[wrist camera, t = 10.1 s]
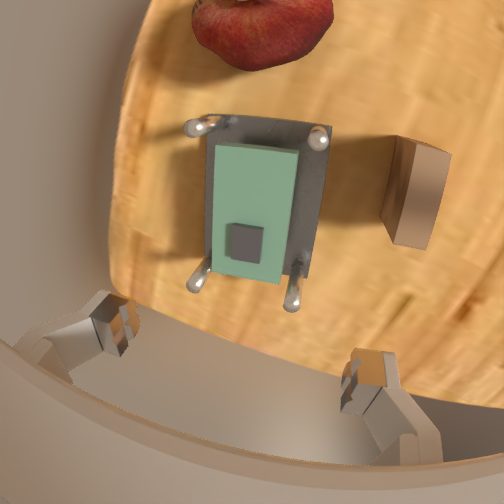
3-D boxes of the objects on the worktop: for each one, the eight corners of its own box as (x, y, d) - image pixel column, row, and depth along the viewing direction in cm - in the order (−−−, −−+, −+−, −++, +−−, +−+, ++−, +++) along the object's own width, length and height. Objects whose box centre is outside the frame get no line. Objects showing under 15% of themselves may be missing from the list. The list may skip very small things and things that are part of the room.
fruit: (215, 79, 24) (163, 71, 15) (212, -11, 19) (164, -50, 11) (334, 77, 22) (342, 59, 13) (327, -18, 17) (328, -71, 9)
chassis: (211, 113, 26) (179, 117, 20) (331, 126, 24) (336, 132, 18) (207, 255, 33) (182, 291, 27) (307, 273, 31) (302, 315, 25)
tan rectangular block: (397, 135, 23) (416, 143, 18) (426, 143, 22) (451, 154, 17) (380, 216, 27) (393, 244, 22) (408, 222, 26) (425, 250, 21)
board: (223, 141, 23) (212, 146, 21) (298, 150, 22) (296, 155, 20) (218, 260, 28) (209, 275, 26) (282, 272, 27) (278, 288, 25)
